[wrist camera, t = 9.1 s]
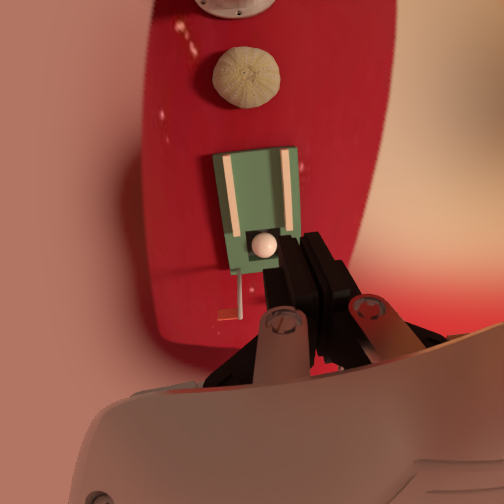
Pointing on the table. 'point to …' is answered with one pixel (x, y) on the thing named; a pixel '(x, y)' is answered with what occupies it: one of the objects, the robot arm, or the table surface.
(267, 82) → the sea urchin shell
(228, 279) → the table surface
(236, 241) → the mat
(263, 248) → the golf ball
